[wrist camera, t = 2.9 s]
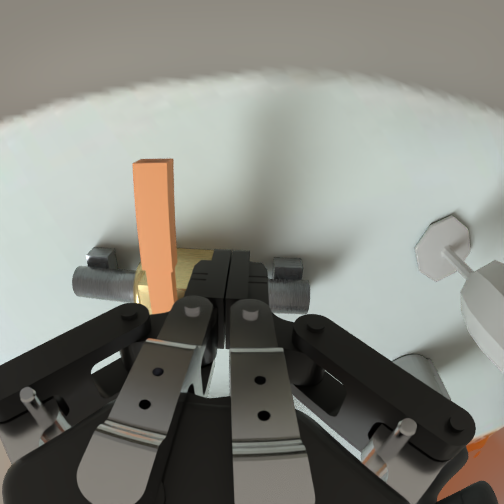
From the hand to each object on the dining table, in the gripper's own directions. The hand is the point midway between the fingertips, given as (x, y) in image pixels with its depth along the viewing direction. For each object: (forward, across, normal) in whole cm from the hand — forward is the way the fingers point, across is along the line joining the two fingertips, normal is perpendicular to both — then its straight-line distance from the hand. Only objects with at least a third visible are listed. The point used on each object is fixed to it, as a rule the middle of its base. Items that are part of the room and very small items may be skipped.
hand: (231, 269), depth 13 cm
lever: (+11, +6, +5) cm, 14 cm away
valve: (+20, +6, +12) cm, 24 cm away
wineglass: (+20, -25, +7) cm, 33 cm away
